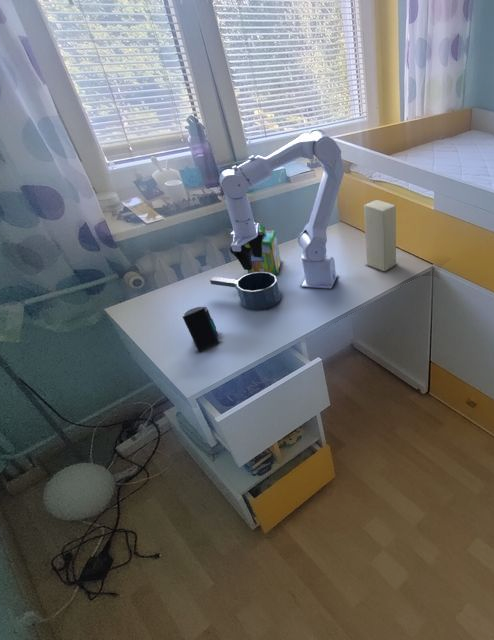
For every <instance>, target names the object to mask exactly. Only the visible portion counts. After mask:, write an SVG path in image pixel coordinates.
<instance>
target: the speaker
mask: <svg viewBox="0 0 494 640" xmlns="http://www.w3.org/2000/svg"><path fill="white" fill-rule="evenodd" d="M182 319H183V321H184V323H185V326H186V328H187V330H188V332H189V335H190V337H191V338H192V341H193V343H194V345H195V347H196V349H197V351H198V352H199V353H200V352H203V351H205V350H207V349H209V348H212V347H213V346H215V345H217V344H219V343H220V341H219V339H218V338H219V333H218V331H217V327H216V324H215V321H214V319H213V318H212V317H211V314H210V312H209V309H208V307H207V306H196V307H193V308H190V309H188V310H187V311H186V312H184V313H183V316H182Z"/></svg>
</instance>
